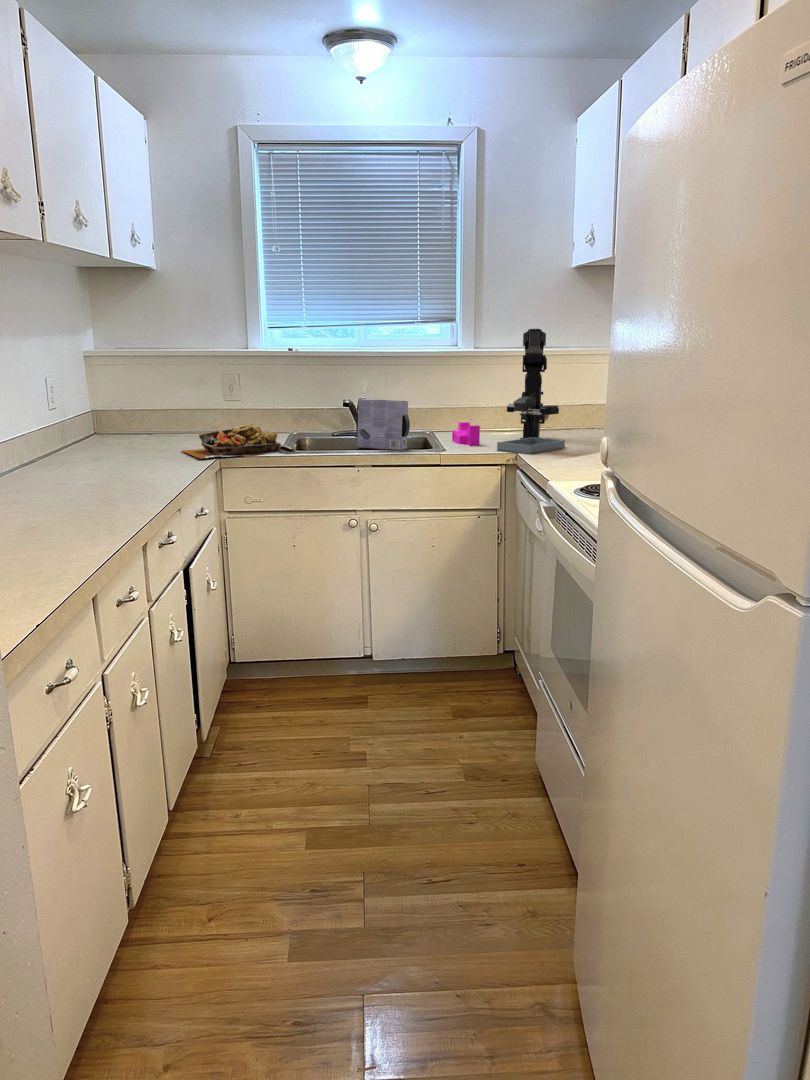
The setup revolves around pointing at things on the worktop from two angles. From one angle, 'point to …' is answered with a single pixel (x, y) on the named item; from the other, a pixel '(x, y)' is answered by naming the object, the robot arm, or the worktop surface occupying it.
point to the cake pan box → (383, 424)
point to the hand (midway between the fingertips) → (531, 433)
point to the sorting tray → (530, 445)
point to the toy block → (466, 434)
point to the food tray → (238, 443)
